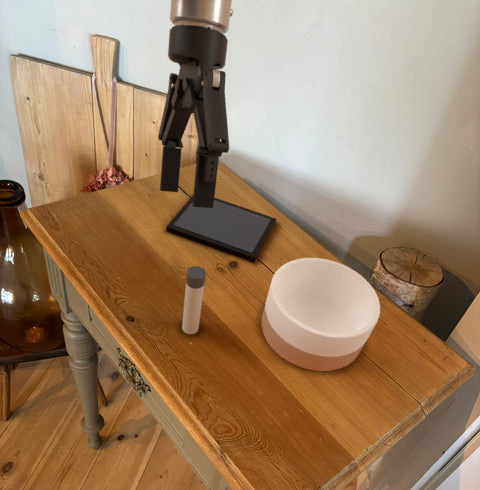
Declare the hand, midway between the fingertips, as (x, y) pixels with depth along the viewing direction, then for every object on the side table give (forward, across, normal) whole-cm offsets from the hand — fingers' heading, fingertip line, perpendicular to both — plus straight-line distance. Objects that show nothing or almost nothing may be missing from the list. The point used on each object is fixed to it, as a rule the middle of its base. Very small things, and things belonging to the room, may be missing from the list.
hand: (184, 198), depth 67 cm
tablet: (+8, +18, -16) cm, 25 cm away
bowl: (+19, -8, -21) cm, 29 cm away
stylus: (+20, -2, -2) cm, 20 cm away
